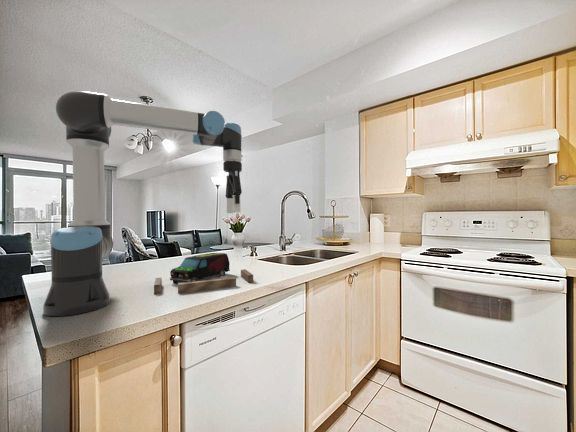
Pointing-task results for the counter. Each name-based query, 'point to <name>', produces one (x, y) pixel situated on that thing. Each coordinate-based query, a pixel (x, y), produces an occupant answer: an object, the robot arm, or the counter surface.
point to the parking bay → (205, 283)
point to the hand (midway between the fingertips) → (233, 212)
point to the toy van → (201, 267)
